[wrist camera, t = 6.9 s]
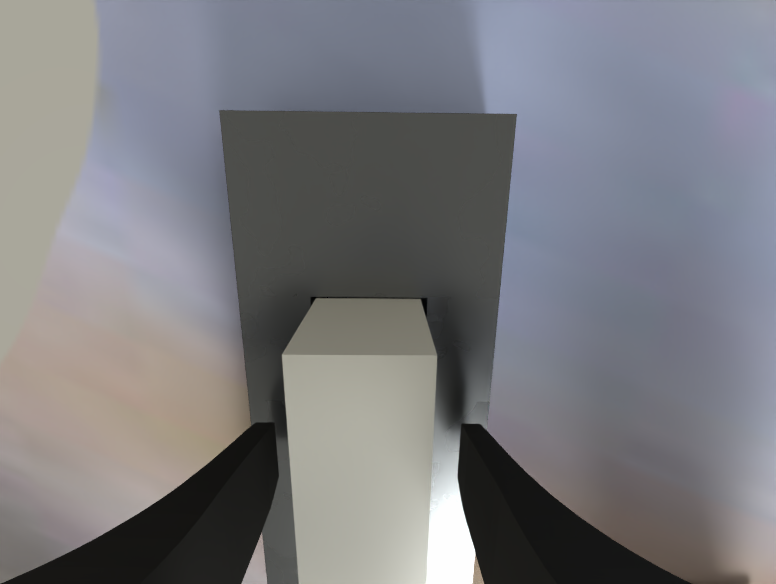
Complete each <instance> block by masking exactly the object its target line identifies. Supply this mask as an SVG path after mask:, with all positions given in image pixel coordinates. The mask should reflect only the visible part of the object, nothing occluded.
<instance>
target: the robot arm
mask: <svg viewBox="0 0 776 584" xmlns="http://www.w3.org/2000/svg"><path fill="white" fill-rule="evenodd" d="M278 478H279V468H278V456H277V444H276V432H275V422H256V423H254V424H253V425H252V426H251V427H250V428H248V429H247V430H246V431H245V432H244V433H243V434H242V435H241V436H239V437H238V438H237V439H236V440H235V441H234V442H233V443H231V444H230V445H229V446H228V447H227V448H226V449H225V450H223V451H222V452H221V453H220V454H219V455H218V456H216V457H215V458H214V459H213V460H212V461H211V462H209V463H208V464H207V465H206V466H204V467H203V468H202V469H200V470H199V471H198V472H197V473H195V474H194V475H193V476H192V477H190V478H189V479H188V480H186V481H185V482H184V483H183V484H181V485H180V486H179V487H177V488H176V489H174V490H173V491H172V492H170V493H169V494H167V495H166V496H165V497H163V498H162V499H160V500H159V501H157V502H156V503H154V504H153V505H151V506H150V507H148V508H147V509H145V510H143V511H142V512H140V513H139V514H137V515H135V516H134V517H132V518H130V519H129V520H127V521H125V522H123V523H122V524H120V525H118V526H117V527H115V528H113V529H112V530H110V531H108V532H106V533H105V534H103V535H101V536H99V537H98V538H96V539H94V540H92V541H90V542H88V543H86V544H84V545H82V546H81V547H79V548H77V549H75V550H73V551H71V552H69V553H67V554H65V555H63V556H61V557H59V558H57V559H55V560H53V561H51V562H48V563H46V564H44V565H42V566H40V567H38V568H36V569H33V570H31V571H29V572H26V573H24V574H22V575H20V576H17V577H15V578H13V579H10V580H8V581H6V582H4V583H1V584H241V583H242V581H243V578H244V575H245V573H246V570H247V568H248V565H249V563H250V560H251V558H252V555H253V553H254V550H255V548H256V545H257V542H258V540H259V537H260V535H261V532H262V530H263V527H264V524H265V522H266V519H267V517H268V514H269V511H270V509H271V505H272V502H273V498H274V494H275V490H276V486H277V482H278ZM457 478H458V484H459V490H460V496H461V502H462V507H463V511H464V515H465V519H466V522H467V526H468V529H469V533H470V536H471V539H472V543H473V546H474V550H475V553H476V557H477V560H478V563H479V567H480V570H481V574H482V577H483V581H484V584H691V583H689V582H687V581H685V580H683V579H681V578H679V577H677V576H675V575H673V574H671V573H669V572H667V571H665V570H663V569H661V568H660V567H658V566H656V565H654V564H652V563H651V562H649V561H647V560H646V559H644V558H642V557H640V556H639V555H637V554H635V553H634V552H632V551H630V550H628V549H627V548H625V547H624V546H622V545H620V544H619V543H617V542H616V541H614V540H612V539H611V538H609V537H608V536H606V535H605V534H603V533H602V532H600V531H599V530H597V529H596V528H595V527H593V526H592V525H590V524H589V523H587V522H586V521H584V520H583V519H582V518H580V517H579V516H577V515H576V514H575V513H574V512H572V511H571V510H570V509H568V508H567V507H566V506H565V505H563V504H562V503H561V502H559V501H558V500H557V499H556V498H554V497H553V496H552V495H551V494H550V493H548V492H547V491H546V490H545V489H544V488H543V487H542V486H541V485H539V484H538V483H537V482H536V481H535V480H534V479H533V478H532V477H531V476H530V475H528V474H527V473H526V472H525V471H524V470H523V469H522V468H521V467H520V466H519V465H518V464H517V463H516V462H515V461H514V460H513V459H512V458H511V456H510V455H509V454H508V453H507V452H506V451H505V450H504V449H503V448H502V447H501V446H500V445H499V444H498V443H497V441H496V440H495V439H494V438H493V437H492V436H491V435H490V434H489V433H488V431H487V430H486V429H485V428H484V427H483V426H482V425H481V424H461V433H460V447H459V461H458V474H457Z"/></svg>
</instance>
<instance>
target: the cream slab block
mask: <svg viewBox="0 0 776 584" xmlns="http://www.w3.org/2000/svg"><path fill="white" fill-rule="evenodd" d="M282 364H283V377H284V391H285V404H286V418H287V431H288V445H289V458H290V471H291V485H292V498H293V512H294V525H295V539H296V552H297V565H298V579H299V584H426V580H427V559H428V538H429V517H430V497H431V476H432V455H433V434H434V413H435V393H436V372H437V353H436V350H435V346H434V343H433V340H432V336H431V333H430V329H429V326H428V323H427V319H426V316H425V313H424V309H423V306H422V303H421V299H392V297H352V298H316V299H315V301H314V302H313V304H312V306H311V307H310V309H309V311H308V312H307V314H306V316H305V317H304V319H303V321H302V322H301V324H300V325H299V327H298V329H297V330H296V332H295V334H294V335H293V337H292V339H291V340H290V342H289V344H288V345H287V347H286V349H285V350H284V352H283V354H282Z"/></svg>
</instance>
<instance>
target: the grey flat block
mask: <svg viewBox="0 0 776 584" xmlns="http://www.w3.org/2000/svg"><path fill="white" fill-rule="evenodd" d="M219 112H220V122H221V131H222V141H223V151H224V161H225V171H226V181H227V190H228V200H229V210H230V220H231V230H232V240H233V249H234V259H235V269H236V279H237V289H238V299H239V308H240V318H241V328H242V338H243V348H244V358H245V367H246V377H247V387H248V397H249V407H250V417H251V426H252V425H253V424H254V423H256V422H275V432H276V444H277V456H278V468H279V478H278V482H277V486H276V490H275V494H274V498H273V502H272V505H271V509H270V511H269V514H268V517H267V519H266V522H265V524H264V527H263V530H262V535H263V544H264V554H265V564H266V574H267V584H299V579H298V565H297V552H296V539H295V525H294V512H293V498H292V485H291V471H290V458H289V445H288V431H287V418H286V404H285V391H284V377H283V364H282V354H283V352H284V350H285V349H286V347H287V345H288V344H289V342H290V340H291V339H292V337H293V335H294V334H295V332H296V330H297V329H298V327H299V325H300V324H301V322H302V321H303V319H304V317H305V316H306V314H307V312H308V311H309V309H310V307H311V306H312V304H313V302H314V301H315V299H316V298H326V297H397V298H419V299H421V303H422V306H423V309H424V313H425V316H426V319H427V323H428V326H429V329H430V333H431V336H432V340H433V343H434V346H435V350H436V353H437V372H436V393H435V413H434V434H433V455H432V476H431V497H430V517H429V538H428V559H427V580H426V584H472V579H473V568H474V558H475V550H474V546H473V543H472V539H471V536H470V533H469V529H468V526H467V522H466V519H465V515H464V511H463V507H462V502H461V496H460V490H459V484H458V478H457V474H458V461H459V447H460V433H461V424H481V425H482V426H483V427H484V428H485V429H486V430H487V421H488V411H489V400H490V390H491V379H492V369H493V358H494V348H495V337H496V327H497V316H498V306H499V295H500V285H501V274H502V264H503V253H504V243H505V232H506V222H507V211H508V201H509V190H510V180H511V169H512V159H513V148H514V138H515V127H516V117H517V114H469V113H390V112H312V111H233V110H219Z"/></svg>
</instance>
